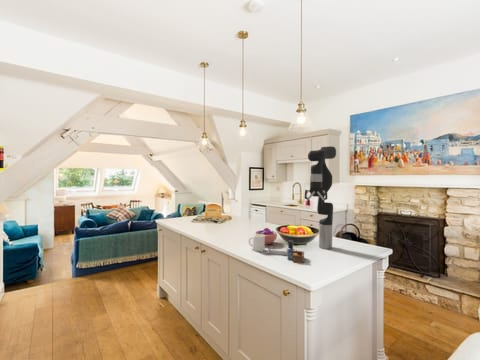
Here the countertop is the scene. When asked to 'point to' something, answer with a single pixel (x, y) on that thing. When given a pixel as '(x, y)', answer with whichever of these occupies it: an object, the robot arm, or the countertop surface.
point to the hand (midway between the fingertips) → (315, 205)
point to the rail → (278, 252)
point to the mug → (258, 242)
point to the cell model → (268, 235)
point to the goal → (298, 257)
